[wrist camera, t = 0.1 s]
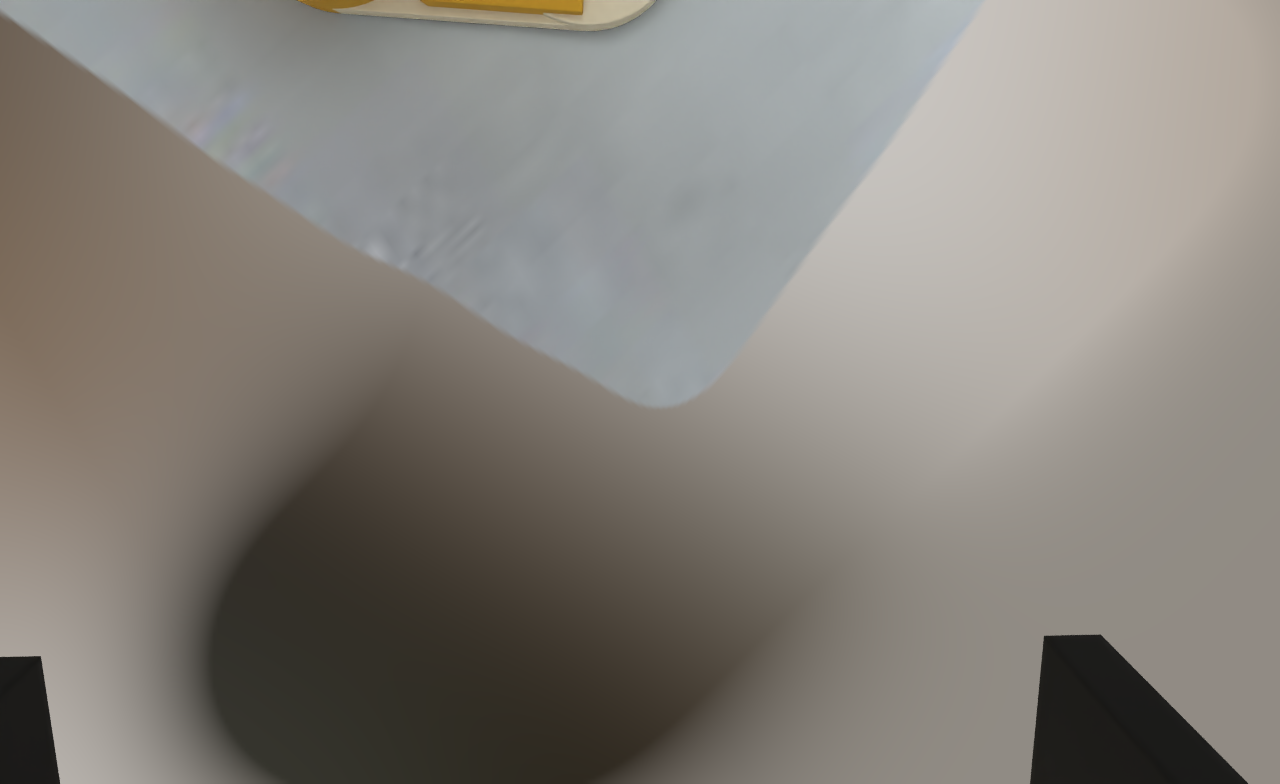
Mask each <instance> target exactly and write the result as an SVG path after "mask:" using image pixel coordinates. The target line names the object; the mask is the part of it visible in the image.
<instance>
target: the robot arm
mask: <svg viewBox="0 0 1280 784" xmlns="http://www.w3.org/2000/svg"><path fill="white" fill-rule="evenodd" d="M0 784H60V780H59V773H58V767H57V760H56V753H55V747H54V740H53V734H52V727H51V720H50V714H49V707H48V701H47V694H46V687H45V681H44V675H43V668H42V661H41V656H32V657H0ZM1030 784H1248V783H1247V782H1246V781H1245V780H1244V779H1243V778H1242V777H1241V776H1240V775H1239V774H1238V773H1237V772H1236V771H1235V770H1234V769H1233V768H1232V767H1231V766H1230V765H1229V764H1228V763H1227V762H1226V761H1225V760H1224V759H1223V758H1222V757H1221V756H1220V755H1219V754H1218V753H1217V752H1216V751H1215V750H1214V749H1213V748H1212V746H1211V745H1209V743H1207V741H1206V740H1204V739H1203V738H1202V736H1201V735H1200V734H1199V733H1197V731H1196V730H1194V728H1193V727H1192V726H1191V725H1190V724H1189V723H1188V722H1187V721H1186V720H1185V719H1184V718H1183V717H1182V716H1181V715H1180V714H1179V713H1178V712H1177V711H1176V710H1175V709H1174V708H1173V707H1172V706H1171V705H1170V704H1169V703H1168V702H1167V701H1166V700H1165V699H1164V698H1163V697H1162V696H1161V695H1160V694H1159V693H1158V692H1157V691H1156V690H1155V689H1154V688H1153V687H1152V686H1151V685H1150V684H1149V683H1148V682H1147V681H1146V680H1145V679H1144V678H1143V677H1142V676H1141V675H1140V674H1139V673H1138V672H1137V671H1136V670H1135V669H1134V668H1133V667H1132V666H1131V665H1130V664H1129V663H1128V662H1127V661H1126V660H1125V659H1124V658H1123V657H1122V656H1121V655H1120V654H1119V653H1118V652H1117V651H1116V650H1115V649H1114V648H1113V647H1112V646H1111V645H1110V644H1109V643H1108V642H1107V641H1106V640H1105V639H1104V638H1103V637H1102V636H1101V635H1065V636H1064V635H1062V636H1044V642H1043V652H1042V664H1041V674H1040V684H1039V695H1038V706H1037V717H1036V728H1035V738H1034V749H1033V759H1032V769H1031V781H1030Z"/></svg>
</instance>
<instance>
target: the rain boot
mask: <svg viewBox="0 0 1280 784" xmlns="http://www.w3.org/2000/svg"><path fill="white" fill-rule="evenodd" d="M297 1H300V2H302V3H304V4H307V5H309V6H312V7H314V8H317V9H320V10H324V11H327V12H334V13H342V14H355V15H369V16H383V17H397V18H410V19H424V20H438V21H452V22H466V23H479V24H493V25H507V26H521V27H535V28H548V29H562V30H576V31H599V30H607V29H611V28H614V27H618V26H620V25H623V24H625V23H627V22H630V21H631V20H633V19H635V18H636V17H638V16H640V15H641V14H642V13H644V12H645V11H646V10H647V9H649V8H650V7H651V6H652V5H653V4H654V3H655V1H656V0H297Z"/></svg>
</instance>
